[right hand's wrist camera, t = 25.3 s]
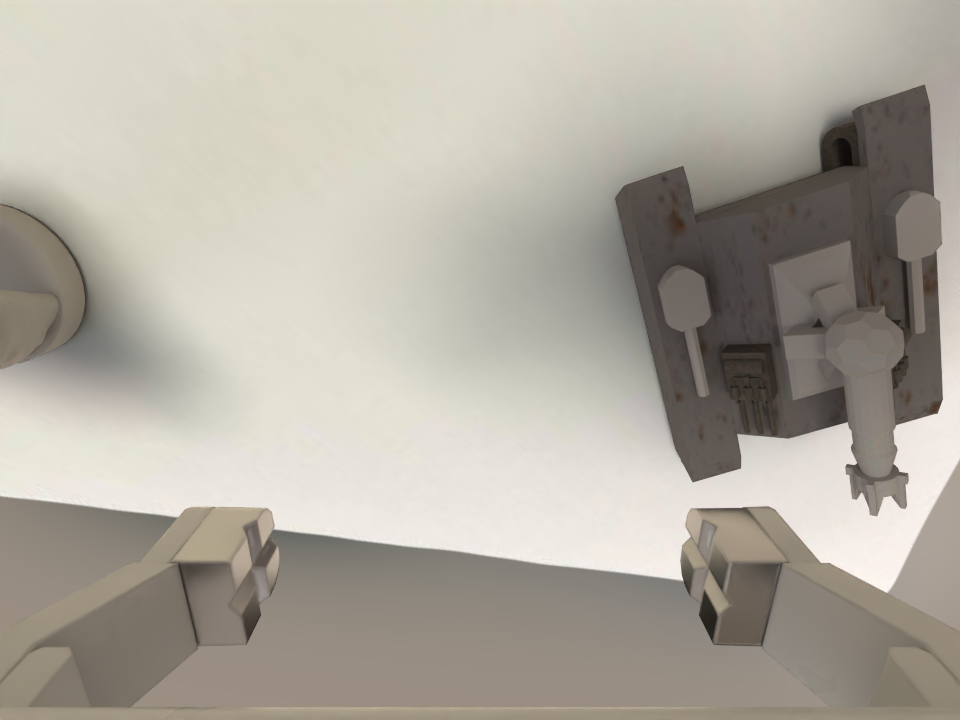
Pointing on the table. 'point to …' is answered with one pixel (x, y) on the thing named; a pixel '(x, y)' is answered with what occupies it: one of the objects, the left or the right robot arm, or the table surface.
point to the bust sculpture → (35, 289)
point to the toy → (799, 299)
